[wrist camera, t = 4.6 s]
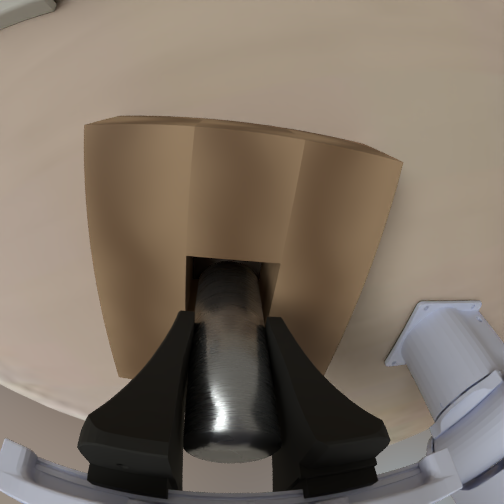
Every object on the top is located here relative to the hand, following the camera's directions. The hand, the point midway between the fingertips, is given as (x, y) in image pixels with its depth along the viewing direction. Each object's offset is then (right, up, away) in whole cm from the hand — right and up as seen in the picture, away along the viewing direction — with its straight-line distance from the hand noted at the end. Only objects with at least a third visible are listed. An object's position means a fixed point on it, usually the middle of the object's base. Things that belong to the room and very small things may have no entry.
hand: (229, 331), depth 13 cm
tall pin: (0, +2, +3) cm, 4 cm away
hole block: (0, +3, +6) cm, 7 cm away
